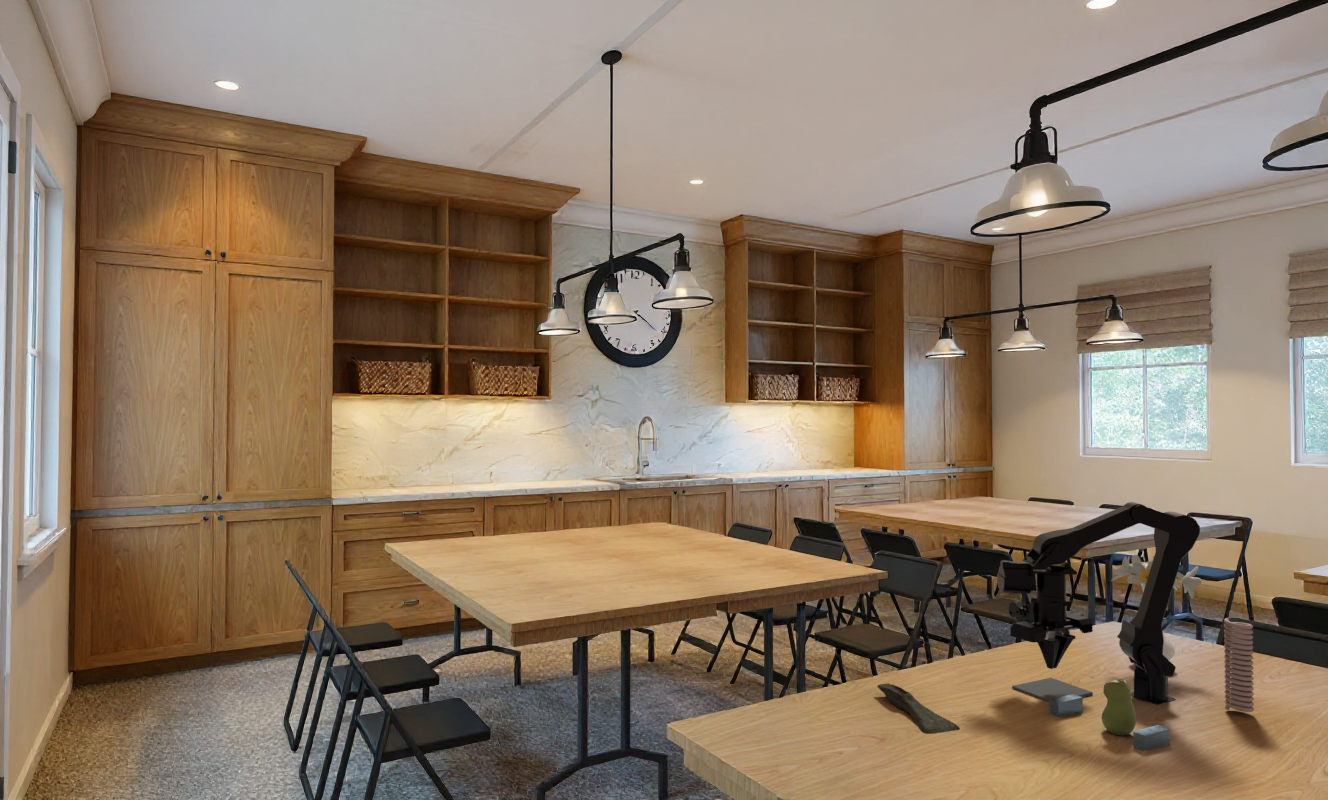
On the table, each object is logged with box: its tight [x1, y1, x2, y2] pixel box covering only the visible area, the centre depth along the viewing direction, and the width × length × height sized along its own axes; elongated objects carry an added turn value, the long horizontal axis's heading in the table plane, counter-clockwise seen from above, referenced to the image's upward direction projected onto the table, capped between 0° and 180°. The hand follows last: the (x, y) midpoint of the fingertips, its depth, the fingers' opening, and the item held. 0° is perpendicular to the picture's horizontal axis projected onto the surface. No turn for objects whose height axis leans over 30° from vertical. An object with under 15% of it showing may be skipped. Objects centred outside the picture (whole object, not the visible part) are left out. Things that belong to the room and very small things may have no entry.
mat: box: [1011, 677, 1094, 703], centre depth 167 cm, size 12×10×1 cm
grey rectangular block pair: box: [1048, 694, 1171, 752], centre depth 147 cm, size 7×19×3 cm, turn 25°
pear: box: [1101, 679, 1137, 737], centre depth 145 cm, size 6×5×10 cm
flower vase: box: [1110, 554, 1202, 661], centre depth 186 cm, size 13×18×25 cm
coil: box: [1223, 617, 1255, 713], centre depth 156 cm, size 5×5×18 cm
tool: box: [876, 683, 960, 735], centre depth 154 cm, size 21×8×3 cm, turn 18°
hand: (1051, 668), depth 167 cm, fingers closed
